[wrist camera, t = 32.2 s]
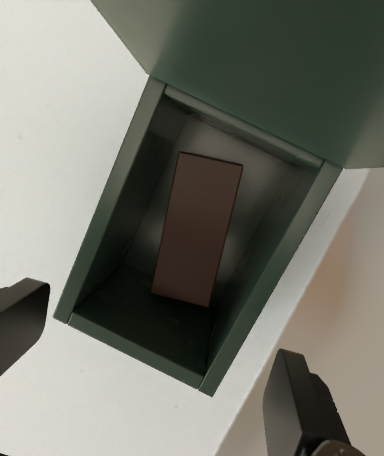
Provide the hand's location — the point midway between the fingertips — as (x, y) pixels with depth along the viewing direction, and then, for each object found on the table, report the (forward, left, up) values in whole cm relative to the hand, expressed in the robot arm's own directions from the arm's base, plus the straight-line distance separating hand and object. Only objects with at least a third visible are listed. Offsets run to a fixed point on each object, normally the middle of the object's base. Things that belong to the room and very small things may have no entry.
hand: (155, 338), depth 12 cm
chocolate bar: (+2, -1, -9) cm, 10 cm away
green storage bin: (+2, -2, -10) cm, 10 cm away
